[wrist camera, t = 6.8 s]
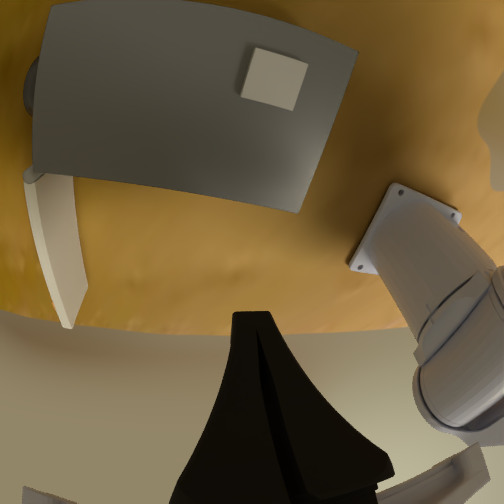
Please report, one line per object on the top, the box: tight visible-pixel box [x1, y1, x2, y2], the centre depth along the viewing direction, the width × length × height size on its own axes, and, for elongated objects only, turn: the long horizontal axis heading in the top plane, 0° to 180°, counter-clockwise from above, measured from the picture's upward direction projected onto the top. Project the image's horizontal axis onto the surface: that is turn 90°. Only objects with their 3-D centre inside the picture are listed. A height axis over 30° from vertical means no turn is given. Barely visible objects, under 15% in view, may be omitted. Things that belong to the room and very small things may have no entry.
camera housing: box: [23, 0, 359, 214], centre depth 11 cm, size 14×8×6 cm, turn 74°
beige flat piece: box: [23, 165, 88, 329], centre depth 15 cm, size 12×2×4 cm, turn 167°
